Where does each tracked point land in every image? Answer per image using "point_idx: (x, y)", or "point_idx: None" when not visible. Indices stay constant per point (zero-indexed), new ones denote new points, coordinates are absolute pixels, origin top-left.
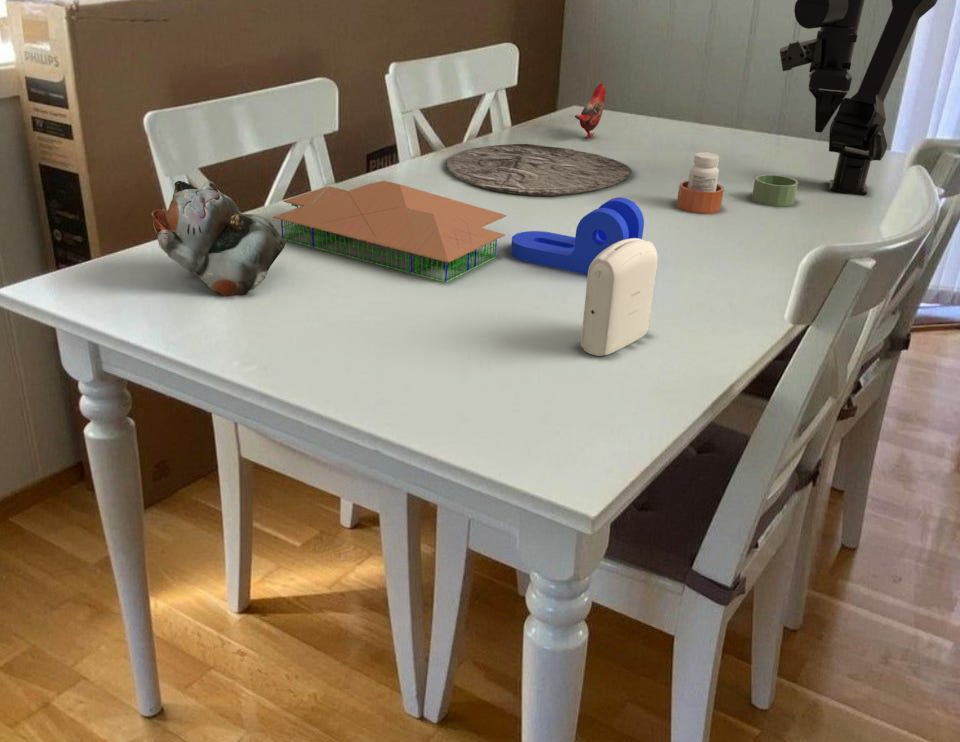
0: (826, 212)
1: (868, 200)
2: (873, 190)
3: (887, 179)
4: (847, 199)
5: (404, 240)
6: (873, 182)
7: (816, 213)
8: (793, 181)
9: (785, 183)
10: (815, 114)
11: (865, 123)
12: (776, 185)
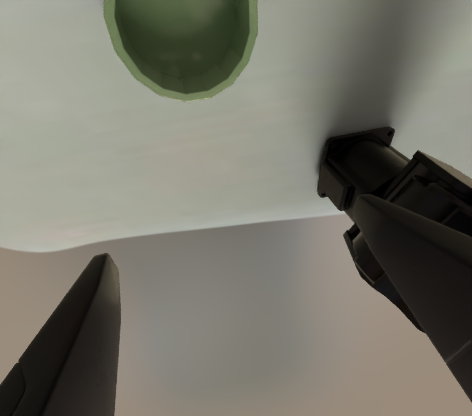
0: (159, 161)
1: (289, 202)
2: None
3: None
4: (281, 174)
5: None
6: None
7: (135, 146)
8: (220, 81)
9: (238, 50)
10: (376, 208)
11: (384, 287)
12: (111, 36)
